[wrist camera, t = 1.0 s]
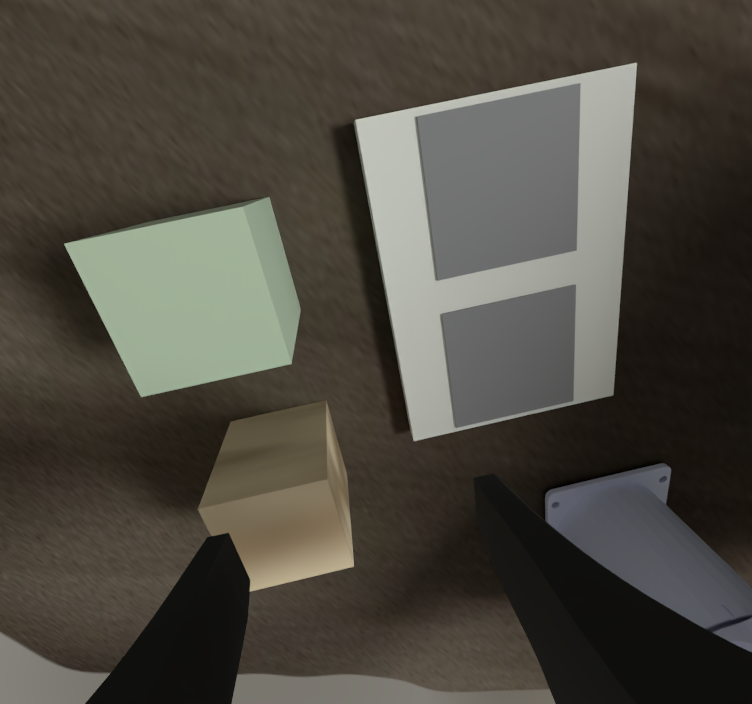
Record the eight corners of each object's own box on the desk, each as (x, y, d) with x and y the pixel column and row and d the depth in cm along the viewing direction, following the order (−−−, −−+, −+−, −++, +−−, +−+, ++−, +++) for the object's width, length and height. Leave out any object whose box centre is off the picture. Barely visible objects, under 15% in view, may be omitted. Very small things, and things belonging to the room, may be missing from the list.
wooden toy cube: (346, 473, 23) (354, 566, 17) (260, 493, 23) (240, 593, 17) (326, 399, 21) (327, 479, 15) (230, 421, 21) (197, 509, 15)
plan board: (601, 386, 22) (614, 396, 21) (410, 430, 22) (414, 442, 21) (619, 69, 16) (638, 62, 15) (353, 123, 16) (355, 119, 15)
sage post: (300, 309, 19) (291, 363, 13) (194, 332, 19) (141, 397, 13) (269, 196, 17) (242, 206, 11) (149, 221, 17) (63, 243, 11)
